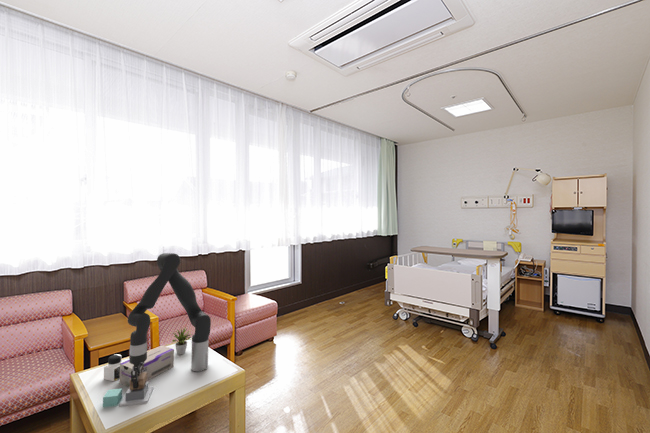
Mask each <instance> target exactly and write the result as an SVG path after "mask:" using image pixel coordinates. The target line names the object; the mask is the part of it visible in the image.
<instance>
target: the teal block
mask: <svg viewBox="0 0 650 433" xmlns="http://www.w3.org/2000/svg"><path fill="white" fill-rule="evenodd" d="M122 399H123V388H114V389H108V390H107V391H106V392H105V394H104V395H103V397H102V408H110V407H117V406H118V405H119V404H120V402H121V401H122Z"/></svg>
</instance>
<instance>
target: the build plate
mask: <svg viewBox="0 0 650 433" xmlns="http://www.w3.org/2000/svg"><path fill="white" fill-rule="evenodd" d="M154 389H155V387H154V386H149V381H147V382H146V384H145V386H144V388H142V389H134V390H130V386H129V387H128V388H127V389H126V392H125V394H124V395H123V396H122V399H121V401H120V402H119V404H118V405H119V407H125V406H133V405H140V404H148V403H147V402H149V400H150V399H151V395H152V393H153V391H154Z"/></svg>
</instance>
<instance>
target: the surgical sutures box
mask: <svg viewBox="0 0 650 433" xmlns="http://www.w3.org/2000/svg"><path fill="white" fill-rule="evenodd" d="M174 358H175V349H174V348H171V347H170V346H166V345H163V344H162V345H160V346H157V347H155V348H152V349H150V350H147V359H146V361H144V370H143V372H147V381H149V380H151V379H153V378H154V377H156V376H158V375H160V374H162V373H164V372H166V371H167V370H170V369H171V368H174V366H175V361H174V360H175V359H174ZM122 362H123V363H120V378H119V381H118V382H119V383H120V384H121V385H124V386H125V387H128V388H129V386H130V379H131V371H133V370H132V368H133V366H134V365H133V364H131V363H130V362H129V359H127V360H125V361H122Z"/></svg>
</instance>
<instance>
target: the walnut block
mask: <svg viewBox="0 0 650 433" xmlns="http://www.w3.org/2000/svg"><path fill="white" fill-rule="evenodd" d="M137 374H139V373H137ZM134 379H136V378H134ZM146 382H148V380H147V372H143V373H141V374H140V376H139V380H138V388H136V389H142V388H144V386H145V384H146ZM130 390H134V389H133V382H131V379H130Z"/></svg>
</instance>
